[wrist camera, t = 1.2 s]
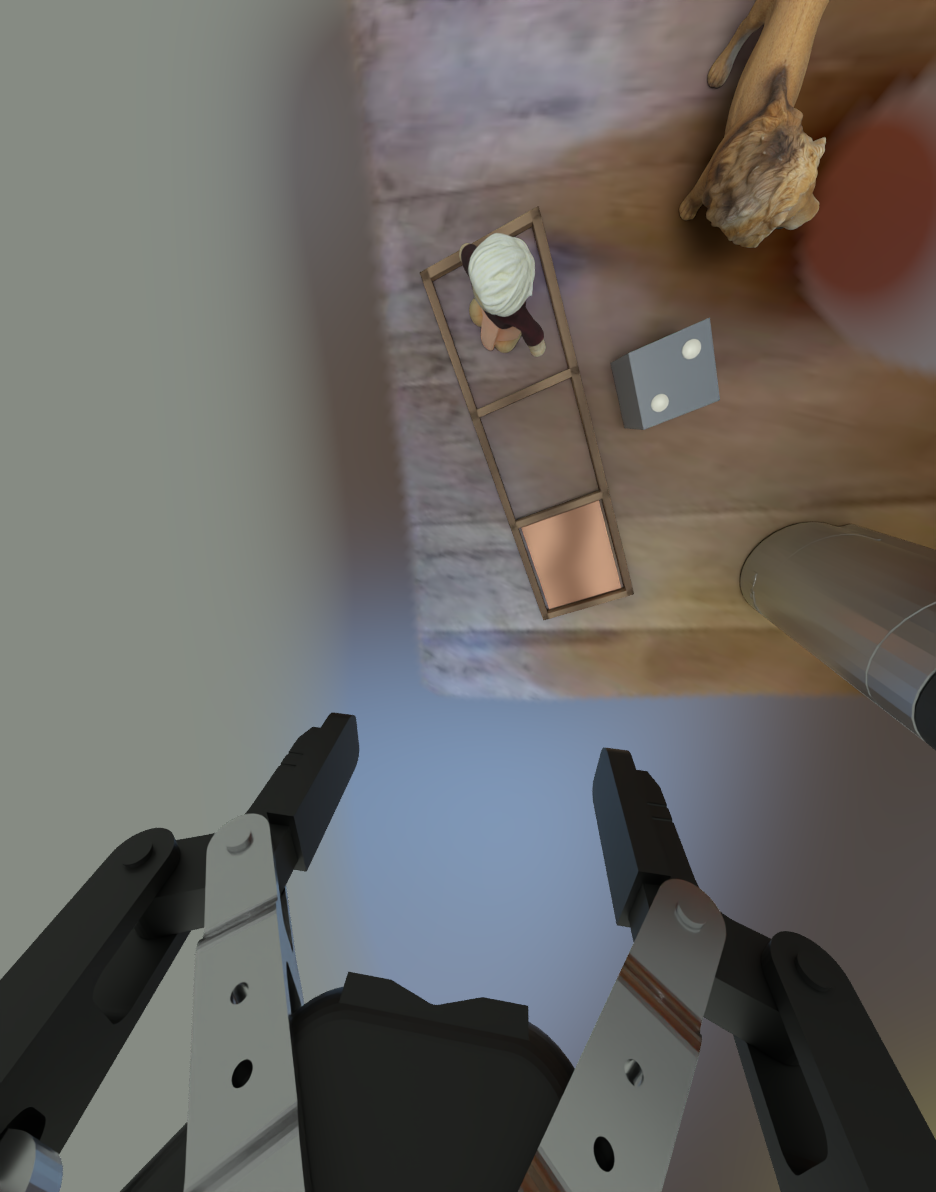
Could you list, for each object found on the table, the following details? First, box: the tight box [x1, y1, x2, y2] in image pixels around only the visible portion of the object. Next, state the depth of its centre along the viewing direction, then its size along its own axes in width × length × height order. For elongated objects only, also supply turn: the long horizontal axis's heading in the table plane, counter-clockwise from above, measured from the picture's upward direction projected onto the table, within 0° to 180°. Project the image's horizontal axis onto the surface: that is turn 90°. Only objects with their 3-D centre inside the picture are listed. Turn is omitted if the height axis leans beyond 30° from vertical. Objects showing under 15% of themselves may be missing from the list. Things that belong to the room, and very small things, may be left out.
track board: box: [420, 206, 634, 620], centre depth 33 cm, size 9×31×1 cm, turn 22°
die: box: [611, 318, 720, 430], centre depth 28 cm, size 5×5×5 cm
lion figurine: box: [679, 0, 830, 248], centre depth 20 cm, size 15×5×9 cm, turn 3°
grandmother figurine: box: [459, 233, 546, 357], centre depth 24 cm, size 8×4×13 cm, turn 55°
